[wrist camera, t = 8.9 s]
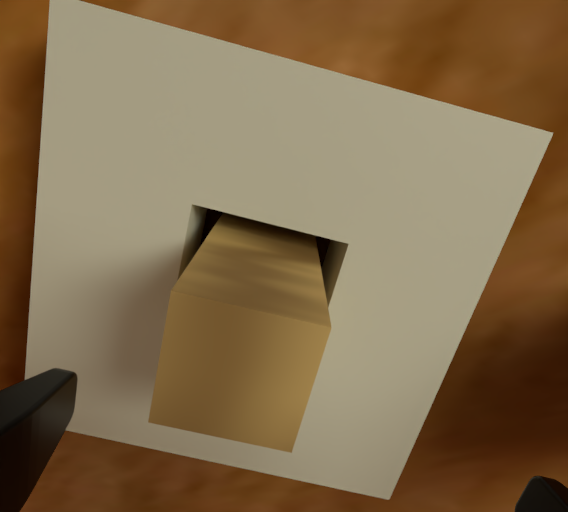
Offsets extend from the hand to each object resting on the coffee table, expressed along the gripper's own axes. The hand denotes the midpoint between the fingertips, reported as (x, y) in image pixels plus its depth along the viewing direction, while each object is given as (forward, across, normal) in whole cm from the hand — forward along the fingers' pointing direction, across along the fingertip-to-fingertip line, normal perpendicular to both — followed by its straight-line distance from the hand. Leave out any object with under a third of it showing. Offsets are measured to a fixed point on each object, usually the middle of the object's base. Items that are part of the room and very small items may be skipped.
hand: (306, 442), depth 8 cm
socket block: (+12, +2, +1) cm, 12 cm away
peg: (+12, +2, +1) cm, 12 cm away
